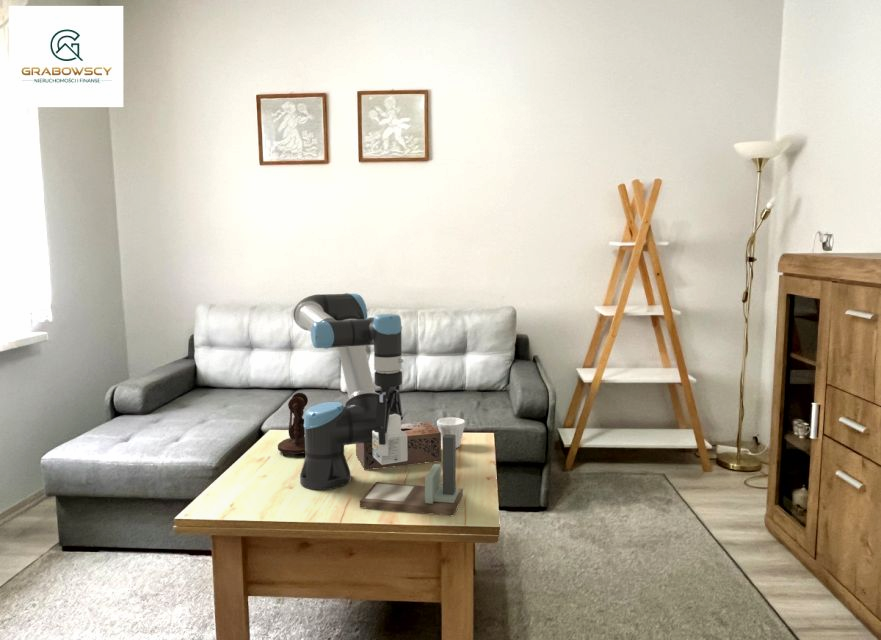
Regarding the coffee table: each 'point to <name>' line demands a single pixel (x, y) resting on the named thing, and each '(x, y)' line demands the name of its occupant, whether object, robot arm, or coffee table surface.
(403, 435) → the container
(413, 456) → the tissue box cover
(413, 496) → the brown wooden base tray
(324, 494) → the coffee table surface
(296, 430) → the dark brown upright piece
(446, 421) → the cup
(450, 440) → the slider
